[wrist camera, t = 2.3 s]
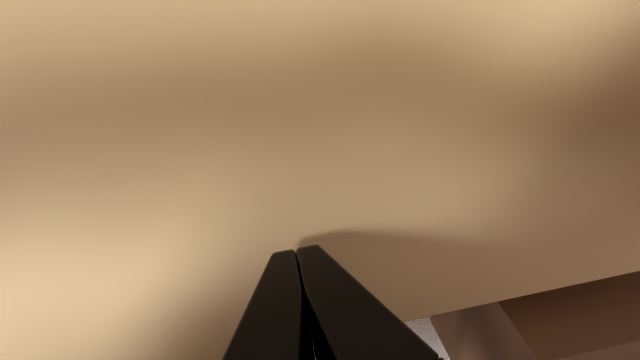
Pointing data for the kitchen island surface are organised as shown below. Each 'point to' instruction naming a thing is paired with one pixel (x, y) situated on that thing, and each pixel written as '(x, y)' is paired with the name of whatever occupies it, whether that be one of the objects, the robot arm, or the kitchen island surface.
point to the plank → (304, 159)
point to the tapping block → (550, 324)
